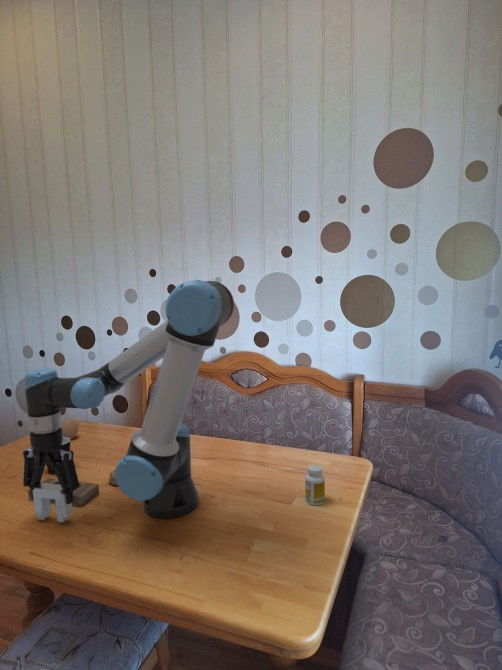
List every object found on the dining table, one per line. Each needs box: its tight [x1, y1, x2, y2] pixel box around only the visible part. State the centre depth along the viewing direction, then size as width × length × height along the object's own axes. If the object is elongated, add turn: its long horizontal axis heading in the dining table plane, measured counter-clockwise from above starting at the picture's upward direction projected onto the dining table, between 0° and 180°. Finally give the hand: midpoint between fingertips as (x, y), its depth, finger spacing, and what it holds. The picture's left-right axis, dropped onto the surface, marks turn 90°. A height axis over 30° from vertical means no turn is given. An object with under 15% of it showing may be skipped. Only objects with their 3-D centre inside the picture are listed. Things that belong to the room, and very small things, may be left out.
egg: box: [60, 418, 79, 440], centre depth 172 cm, size 6×6×8 cm
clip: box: [34, 483, 72, 523], centre depth 111 cm, size 8×3×8 cm, turn 75°
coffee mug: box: [35, 437, 72, 475], centre depth 143 cm, size 12×9×10 cm
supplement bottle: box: [304, 464, 326, 506], centre depth 119 cm, size 5×5×10 cm
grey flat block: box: [27, 477, 100, 508], centre depth 124 cm, size 18×8×3 cm, turn 75°
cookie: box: [108, 469, 119, 487], centre depth 135 cm, size 10×11×3 cm
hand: (53, 512), depth 111 cm, fingers closed on clip, 8 cm apart
